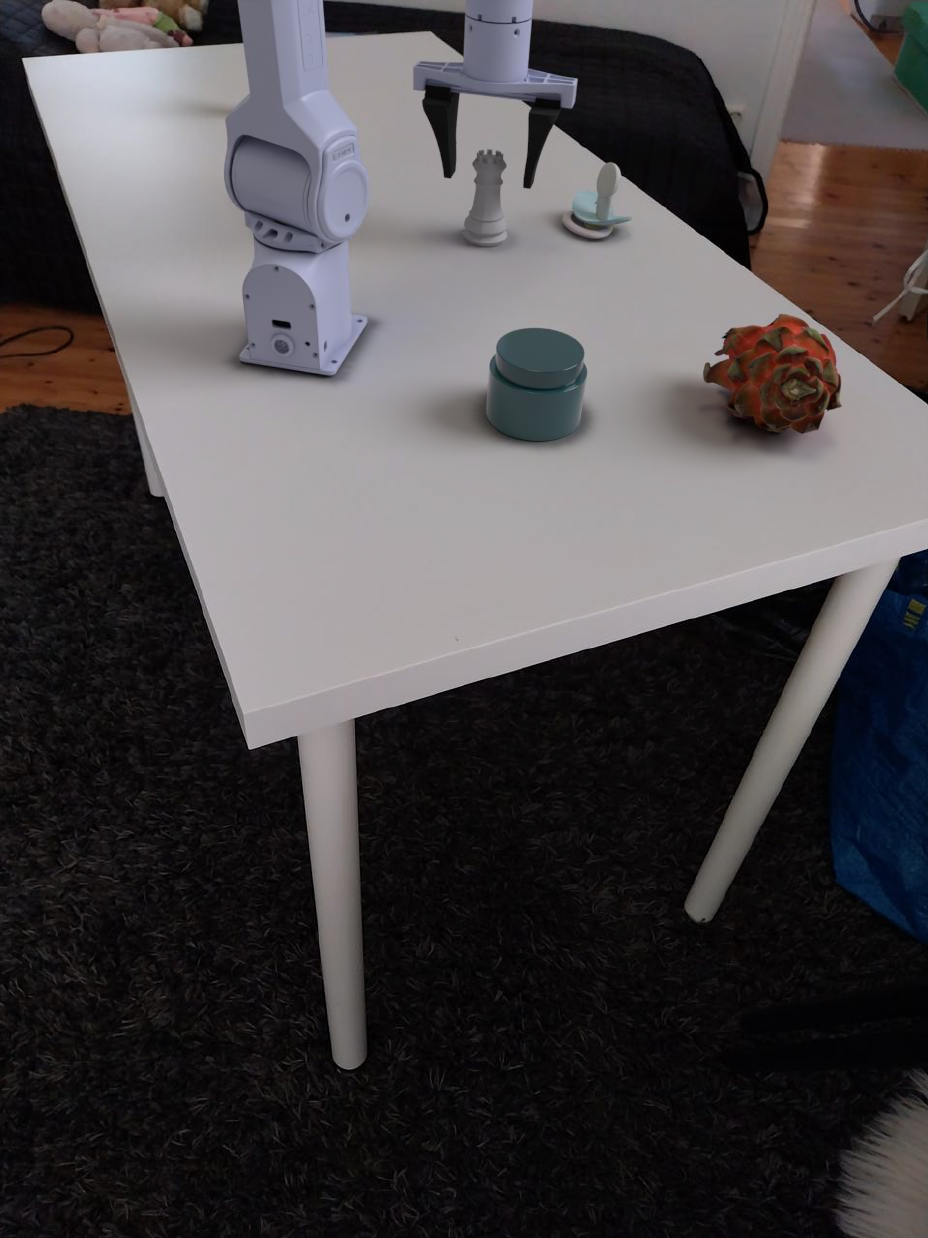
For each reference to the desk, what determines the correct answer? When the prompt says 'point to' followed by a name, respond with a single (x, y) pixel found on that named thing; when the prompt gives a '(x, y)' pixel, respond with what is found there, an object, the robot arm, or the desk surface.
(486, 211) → the rook chess piece
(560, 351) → the teal jar with lid
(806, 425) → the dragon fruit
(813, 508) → the desk surface
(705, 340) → the desk surface
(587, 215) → the pacifier
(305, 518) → the desk surface
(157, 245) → the desk surface
